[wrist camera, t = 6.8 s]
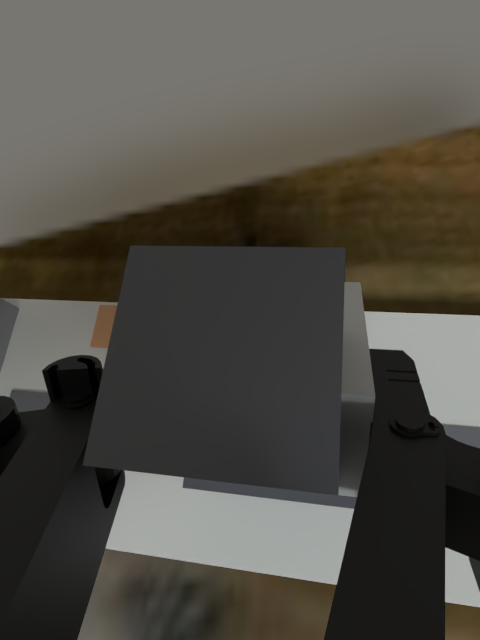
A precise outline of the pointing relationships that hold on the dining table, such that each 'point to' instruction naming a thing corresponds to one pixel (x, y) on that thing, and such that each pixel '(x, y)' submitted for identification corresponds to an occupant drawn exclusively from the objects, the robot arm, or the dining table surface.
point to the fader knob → (227, 371)
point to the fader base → (239, 510)
